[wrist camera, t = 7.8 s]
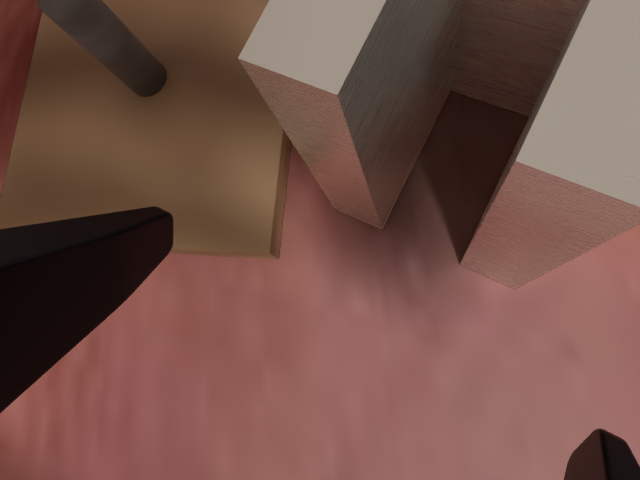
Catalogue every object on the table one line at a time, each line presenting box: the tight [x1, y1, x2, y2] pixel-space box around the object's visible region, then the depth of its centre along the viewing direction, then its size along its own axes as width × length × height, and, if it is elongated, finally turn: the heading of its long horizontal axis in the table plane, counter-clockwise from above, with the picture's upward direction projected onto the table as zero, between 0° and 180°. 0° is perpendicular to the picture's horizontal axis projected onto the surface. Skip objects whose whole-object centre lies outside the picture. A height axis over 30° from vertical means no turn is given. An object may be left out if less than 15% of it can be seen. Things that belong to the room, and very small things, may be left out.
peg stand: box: [0, 0, 291, 259], centre depth 18 cm, size 14×12×6 cm
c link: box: [238, 0, 640, 289], centre depth 13 cm, size 8×7×10 cm
